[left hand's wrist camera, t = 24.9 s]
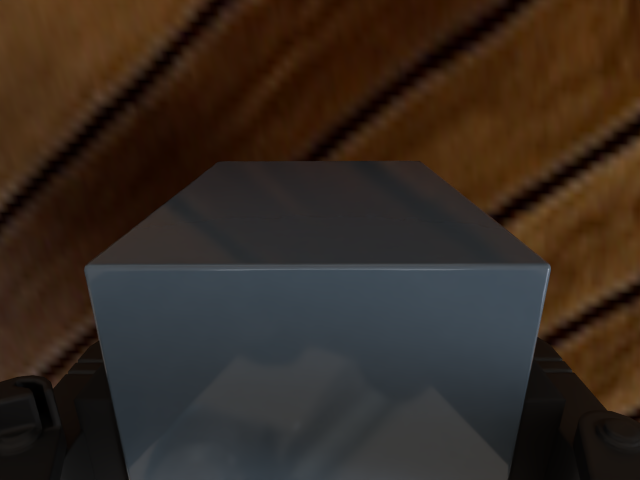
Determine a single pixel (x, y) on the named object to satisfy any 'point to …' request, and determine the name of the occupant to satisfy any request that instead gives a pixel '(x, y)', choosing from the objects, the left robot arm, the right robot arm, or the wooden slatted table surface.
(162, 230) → the brick
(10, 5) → the wooden slatted table surface
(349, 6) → the wooden slatted table surface
